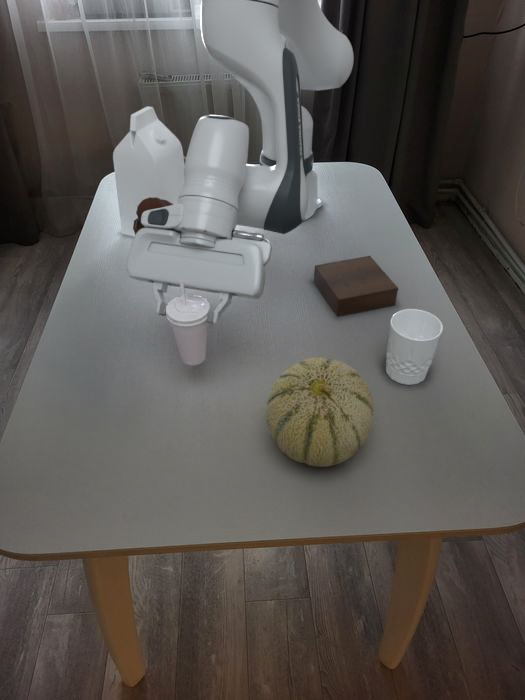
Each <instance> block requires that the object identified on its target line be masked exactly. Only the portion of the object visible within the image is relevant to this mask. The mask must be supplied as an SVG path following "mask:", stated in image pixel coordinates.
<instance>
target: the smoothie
mask: <svg viewBox="0 0 525 700" xmlns="http://www.w3.org/2000/svg"><path fill="white" fill-rule="evenodd" d="M179 282H180V287H179V288H180V289H179V290H180V295H179V296H176V297H174V298H172V299H171V300H170V301H169V302H167V306H166V316H165V317H166V319H167V320H168V321H169V322H170V327H171V329H172V332H173V336H174V338H175V342H176V345H177V348H178V349H177V350H178V353H179V354H180V358H181V361H182V362H183V363H184V364H186V365H188V366H197V365H200V364H202V363H203V362H204V361H205V360H206V358H207V357H206V356H207V343H208V341H207V340H208V326H209V325H208V324H209V323H207V318H208V311H212V310H211V306H210V305H211V304H210V303H209V301H208V300H207V298H204V297H203V296H200V295H197V294H186V290H185V289H186V288H184V281H183V280H180V281H179Z"/></svg>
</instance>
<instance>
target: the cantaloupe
mask: <svg viewBox="0 0 525 700" xmlns="http://www.w3.org/2000/svg"><path fill="white" fill-rule="evenodd" d="M374 406H375V403H374V399H373V394H372V391H371V390H370V387H369V386H368V384H367V382H366V381H365V379H364V378H363V376H361V375H360V374H359V372H358V371H357V370H356V369H355V368H354V367H352V366H351V365H349V364H346V363H345V362H343V361H340V360H337V359H331V358H326V357H319V356H318V357H317V356H316V357H309V358H305V359H302V360H301V361H299V362H297V363H294V364H292V365H291V366H289V367H288V368H286V369H285V371H283V373H282V374H281V375H280V376H279V377H278V379H277V380H275V382H274V383H273V384H272V386H271V388H270V392H269V394H268V398H267V402H266V412H265V419H266V420H265V421H266V422H265V423H266V426H267V429H268V432H269V434H270V436H271V439H272V440H273V441H274V443H275V444H276V445H277V447H278V449H280V451H281V452H282V453H283V454H285V455H287V456H288V457H289V458H290V459H292V460H294V461H295V462H298V463H301V464H305V465H308V466H312V467H321V468H324V467H325V468H326V467H332V466H335V465H339V464H341V463H344V462H345V461H348V460H349V459H350V458H352V457H353V456H354V455H355V454H356V452H357V451H358V450H360V449H361V448H362V446H363V445H364V444H365V442H367V440H368V438H369V436H370V433H371V432H372V431H371V430H372V427H373V419H374V418H373V417H374V412H375V407H374Z"/></svg>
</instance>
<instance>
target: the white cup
mask: <svg viewBox="0 0 525 700" xmlns="http://www.w3.org/2000/svg"><path fill="white" fill-rule="evenodd" d="M443 330H444V326H443V323H442V321H441V319H439V318H438V317H437V316H436V315H435V314H433V313H431V312H428V311H427V310H424V309H418V308H405V309H401V310H399V311H397V312H395V313H394V314H393V315H392V316H391V318H390V322H389V331H388V339H387V345H386V357H385V358H386V360H385V372H386V375H387V376H388V377H389V378H390V379H391V380H393V381H394V382H396V383H398V384H400V385H407V386H413V385H419V384H420V383H422V382H423V381H425V379H426V377H427V375H428V373H429V369H430V367H431V365H432V363H433V360H434V357H435V355H436V352H437V348H438V345H439V343H440V340H441V336H442V333H443Z"/></svg>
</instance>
